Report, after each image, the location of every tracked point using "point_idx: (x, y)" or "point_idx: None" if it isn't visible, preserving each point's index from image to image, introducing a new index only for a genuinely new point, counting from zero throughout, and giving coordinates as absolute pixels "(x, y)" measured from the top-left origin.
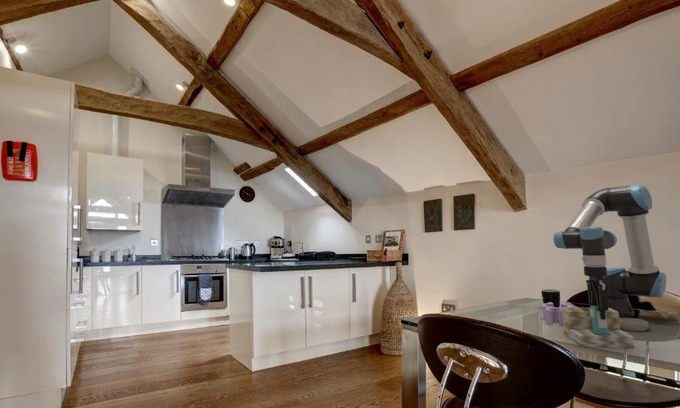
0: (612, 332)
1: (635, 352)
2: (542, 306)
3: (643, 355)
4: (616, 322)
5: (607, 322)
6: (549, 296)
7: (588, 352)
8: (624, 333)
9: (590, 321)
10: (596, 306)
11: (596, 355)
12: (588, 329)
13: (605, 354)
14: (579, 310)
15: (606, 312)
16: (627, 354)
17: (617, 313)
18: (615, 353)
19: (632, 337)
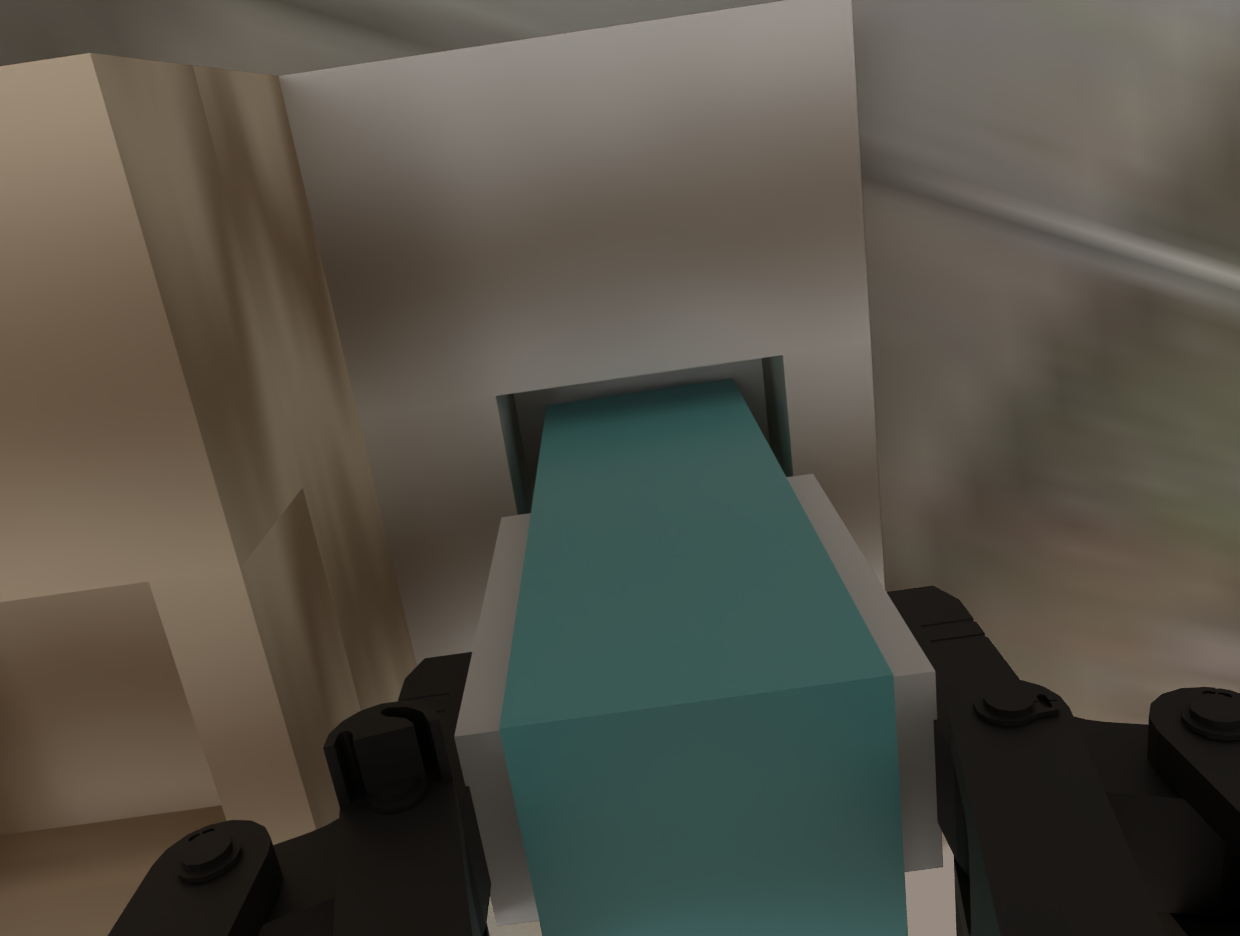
0: (558, 295)
1: (1048, 79)
2: None
3: (1195, 7)
4: (239, 143)
5: (793, 490)
6: None
7: (1105, 695)
8: (587, 81)
9: (374, 684)
10: (674, 901)
11: (1226, 633)
12: (426, 646)
13: (1177, 521)
14: None
15: (852, 606)
16: (1159, 234)
17: (123, 93)
18: (1123, 384)
19: (850, 10)
